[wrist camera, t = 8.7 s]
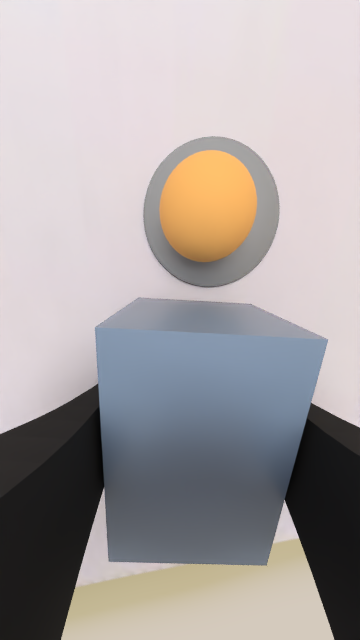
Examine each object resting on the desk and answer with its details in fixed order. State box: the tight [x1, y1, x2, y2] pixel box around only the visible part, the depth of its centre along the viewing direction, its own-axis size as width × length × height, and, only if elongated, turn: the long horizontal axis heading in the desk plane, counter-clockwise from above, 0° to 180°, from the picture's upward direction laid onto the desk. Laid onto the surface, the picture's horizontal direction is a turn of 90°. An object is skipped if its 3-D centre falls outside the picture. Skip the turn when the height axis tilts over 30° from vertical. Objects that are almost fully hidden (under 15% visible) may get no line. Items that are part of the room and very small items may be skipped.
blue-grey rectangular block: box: [95, 298, 328, 565], centre depth 8 cm, size 9×6×5 cm, turn 177°
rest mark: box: [144, 136, 279, 287], centre depth 10 cm, size 7×7×1 cm
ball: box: [159, 150, 257, 262], centre depth 8 cm, size 4×4×4 cm
